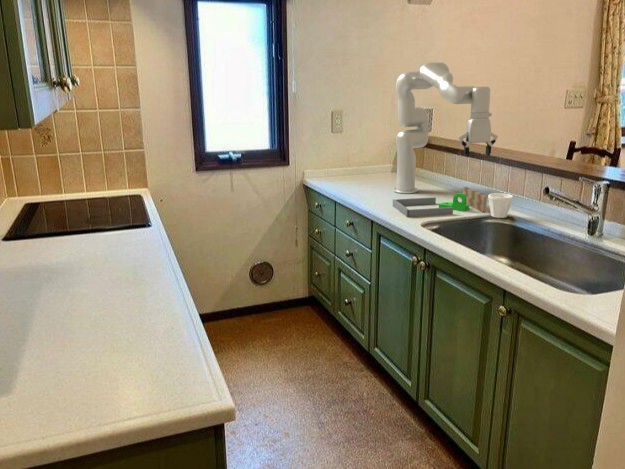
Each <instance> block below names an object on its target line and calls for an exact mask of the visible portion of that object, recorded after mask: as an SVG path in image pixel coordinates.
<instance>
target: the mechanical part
mask: <svg viewBox="0 0 625 469" xmlns="http://www.w3.org/2000/svg"><path fill="white" fill-rule="evenodd" d="M459 198H460V199H461V202H460V201H459V200H458V199H459ZM466 202H467V198H466V196H465V194H463V192H458V193H456V194H455V195H453V198H452V202H449V201H447V202H446V201H445V202H444V201H443V202H441V203H438V208H446V207H453V211H458V212H466V211H468V210H469V209H470V205H468V204H466Z"/></svg>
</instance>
